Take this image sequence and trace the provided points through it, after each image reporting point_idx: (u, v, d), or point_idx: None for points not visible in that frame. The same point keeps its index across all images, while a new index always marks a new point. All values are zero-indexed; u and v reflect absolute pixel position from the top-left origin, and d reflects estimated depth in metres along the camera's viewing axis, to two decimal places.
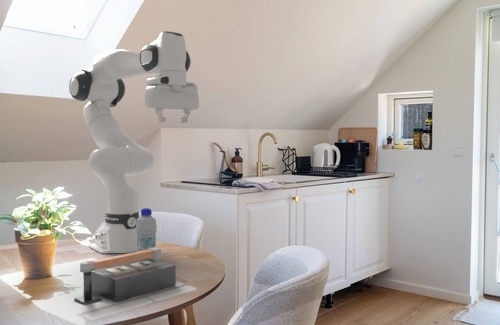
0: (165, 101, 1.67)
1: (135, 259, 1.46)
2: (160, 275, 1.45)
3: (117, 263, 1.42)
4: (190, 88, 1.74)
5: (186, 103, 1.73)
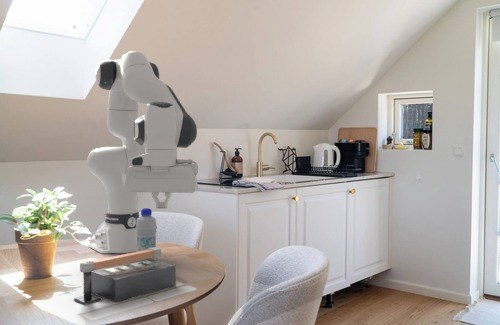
0: (143, 184, 1.44)
1: (135, 259, 1.46)
2: (160, 275, 1.45)
3: (117, 263, 1.42)
4: (181, 167, 1.43)
5: (174, 186, 1.43)
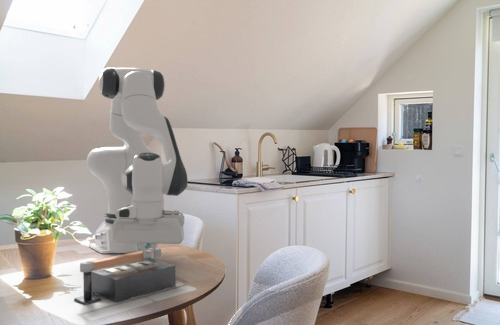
0: (130, 235, 1.45)
1: (135, 259, 1.46)
2: (160, 275, 1.45)
3: (117, 263, 1.42)
4: (167, 219, 1.44)
5: (161, 237, 1.45)
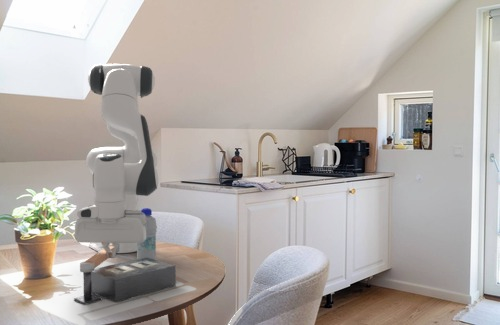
0: (92, 235, 1.47)
1: None
2: (160, 275, 1.45)
3: (102, 260, 1.44)
4: (129, 219, 1.46)
5: (123, 237, 1.46)
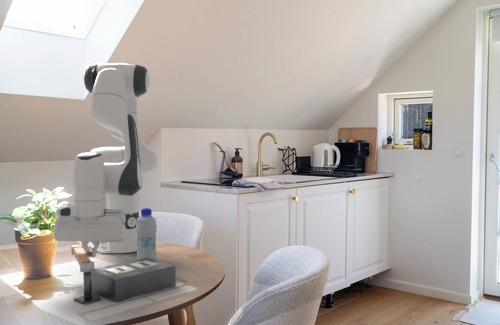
0: (72, 234, 1.47)
1: None
2: (160, 275, 1.45)
3: None
4: (108, 218, 1.46)
5: (102, 235, 1.46)
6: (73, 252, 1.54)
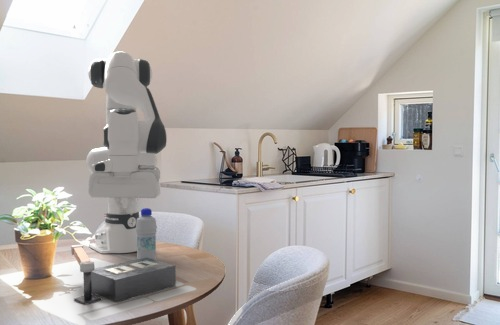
0: (106, 190, 1.46)
1: None
2: (160, 275, 1.45)
3: None
4: (143, 173, 1.45)
5: (136, 191, 1.45)
6: (73, 252, 1.54)
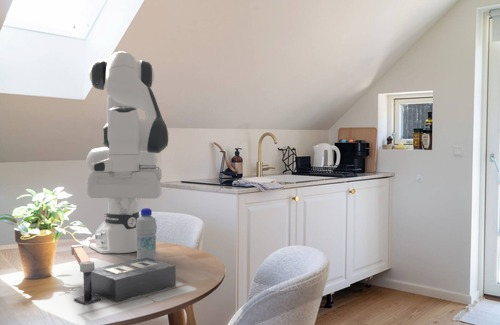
0: (106, 190, 1.42)
1: None
2: (160, 275, 1.45)
3: None
4: (144, 173, 1.41)
5: (137, 191, 1.41)
6: (73, 252, 1.54)
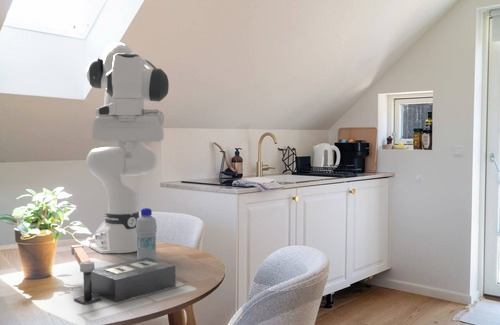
0: (110, 134, 1.47)
1: None
2: (160, 275, 1.45)
3: None
4: (147, 117, 1.46)
5: (140, 135, 1.46)
6: (73, 252, 1.54)
